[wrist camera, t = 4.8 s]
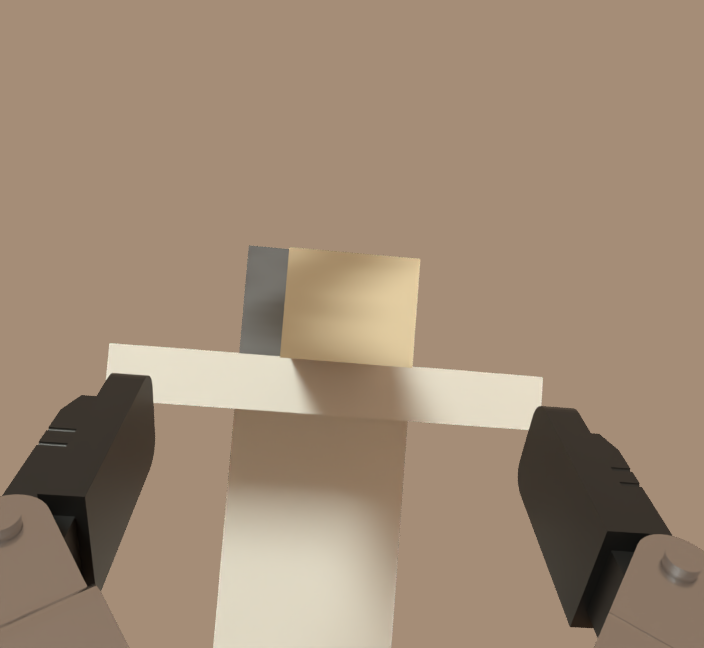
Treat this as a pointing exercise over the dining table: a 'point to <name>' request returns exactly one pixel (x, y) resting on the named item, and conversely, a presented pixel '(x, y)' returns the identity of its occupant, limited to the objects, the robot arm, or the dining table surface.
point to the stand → (317, 480)
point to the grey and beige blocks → (330, 306)
